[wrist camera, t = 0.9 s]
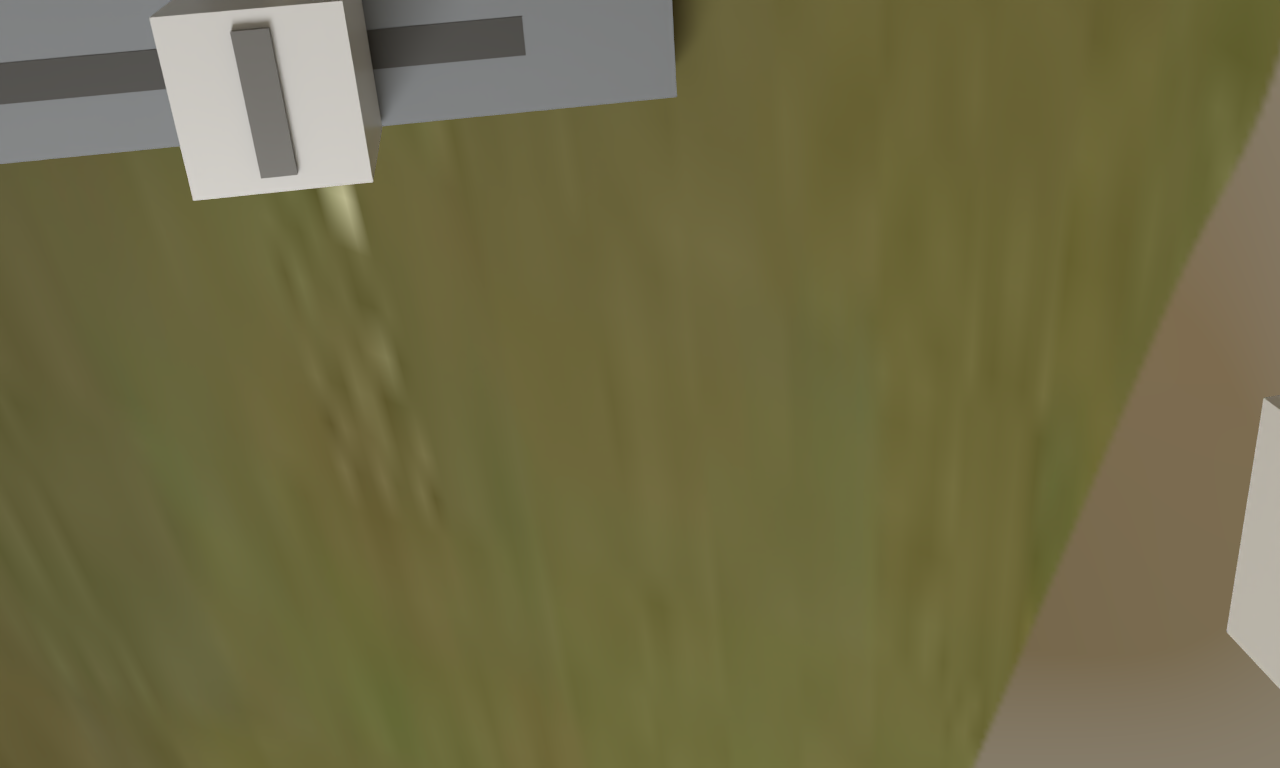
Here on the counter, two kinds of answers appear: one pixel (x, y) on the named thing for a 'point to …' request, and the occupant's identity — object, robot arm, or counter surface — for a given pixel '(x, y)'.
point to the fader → (269, 93)
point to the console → (400, 54)
